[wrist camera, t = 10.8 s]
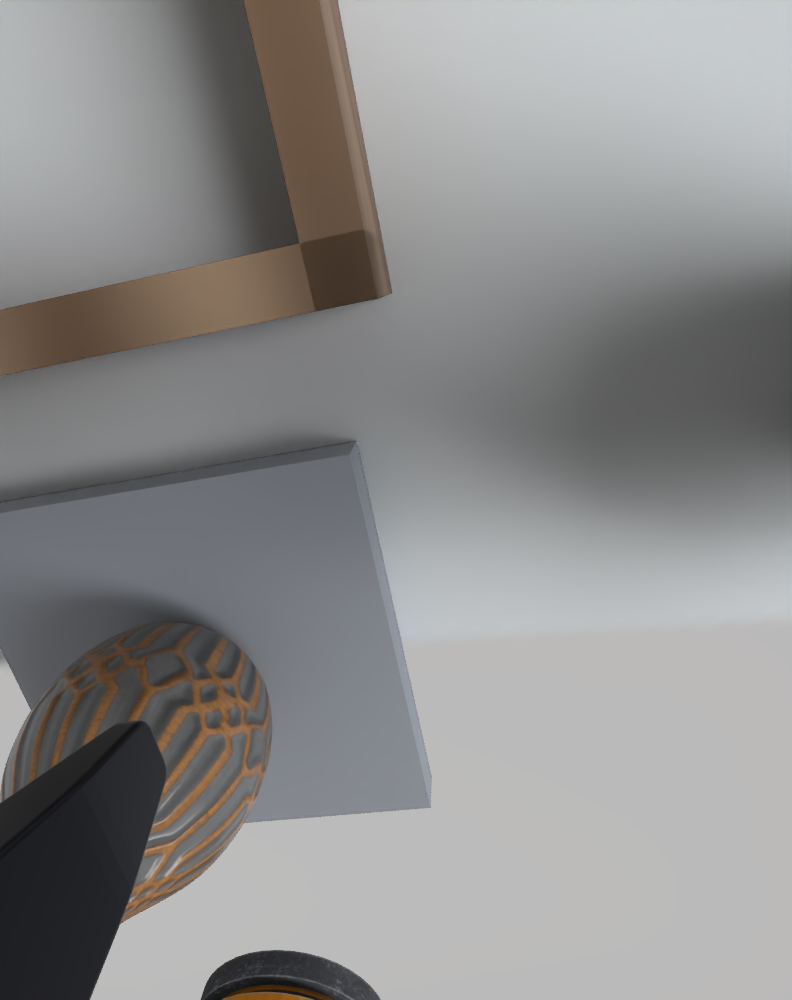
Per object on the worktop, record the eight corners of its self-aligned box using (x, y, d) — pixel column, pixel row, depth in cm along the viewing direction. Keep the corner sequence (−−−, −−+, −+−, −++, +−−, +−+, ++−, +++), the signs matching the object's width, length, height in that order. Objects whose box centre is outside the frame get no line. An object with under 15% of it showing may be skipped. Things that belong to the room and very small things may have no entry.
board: (356, 441, 19) (349, 454, 18) (431, 776, 24) (430, 807, 23) (-28, 506, 21) (-61, 523, 20) (111, 804, 26) (92, 835, 25)
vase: (315, 741, 22) (237, 1020, 14) (142, 761, 23) (-26, 1033, 15) (261, 574, 20) (129, 791, 11) (71, 605, 21) (-174, 824, 12)
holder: (270, -356, 13) (201, -606, 9) (391, 292, 18) (377, 298, 14) (-293, -147, 15) (-533, -283, 11) (-55, 384, 20) (-172, 410, 16)
